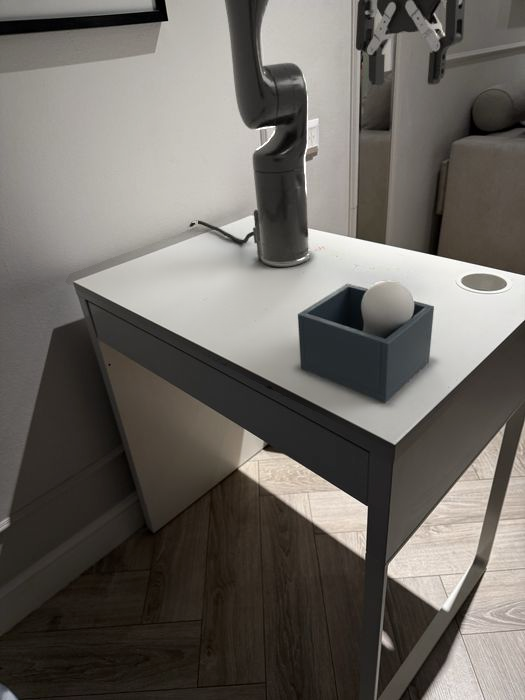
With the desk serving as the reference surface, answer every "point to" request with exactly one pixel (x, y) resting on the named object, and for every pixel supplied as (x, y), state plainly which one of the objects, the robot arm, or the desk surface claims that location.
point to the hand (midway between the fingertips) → (404, 84)
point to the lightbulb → (386, 308)
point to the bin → (362, 345)
